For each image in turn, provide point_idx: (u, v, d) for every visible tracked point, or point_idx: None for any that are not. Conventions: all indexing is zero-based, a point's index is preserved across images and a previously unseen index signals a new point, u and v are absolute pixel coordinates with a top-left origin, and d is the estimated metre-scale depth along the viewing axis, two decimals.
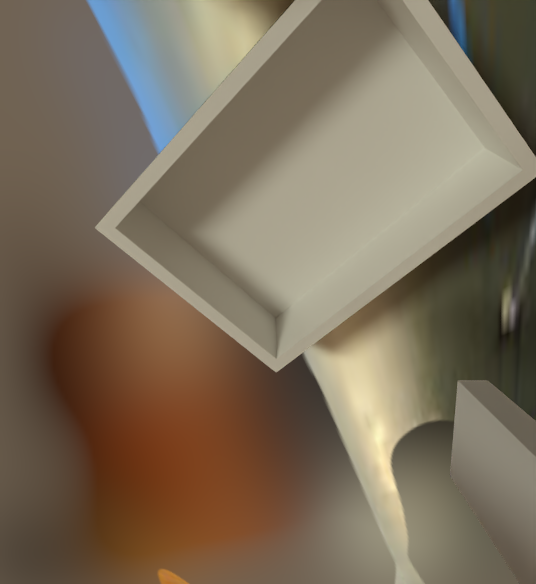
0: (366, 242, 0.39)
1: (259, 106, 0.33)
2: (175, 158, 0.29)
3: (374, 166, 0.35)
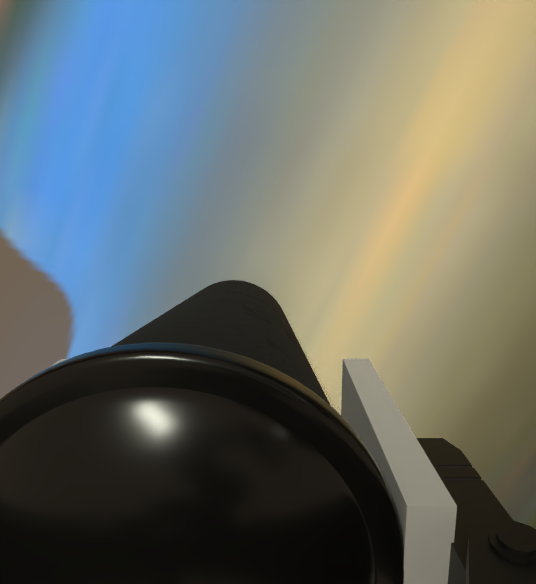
0: None
1: None
2: None
3: None
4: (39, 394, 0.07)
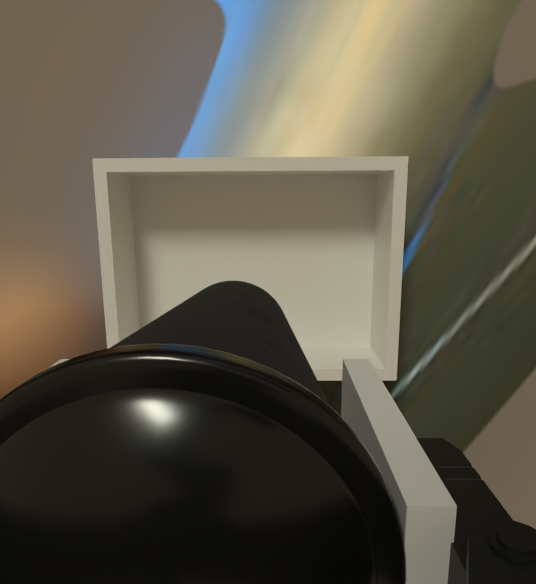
0: None
1: (264, 197, 0.41)
2: (193, 169, 0.35)
3: (299, 298, 0.43)
4: (37, 396, 0.07)
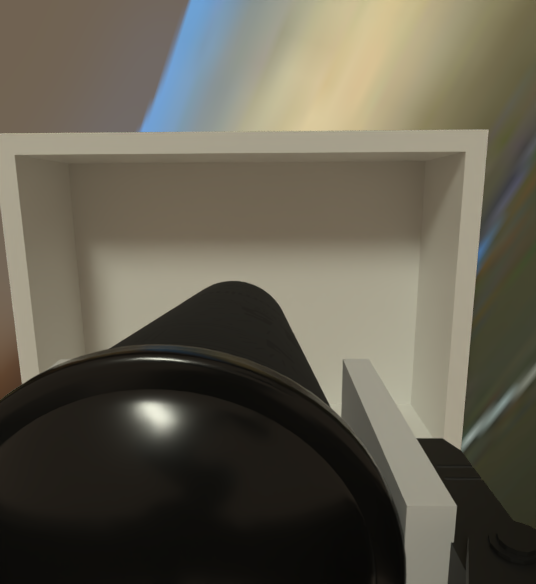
0: None
1: (261, 195, 0.29)
2: (149, 151, 0.22)
3: (311, 337, 0.30)
4: (37, 397, 0.07)
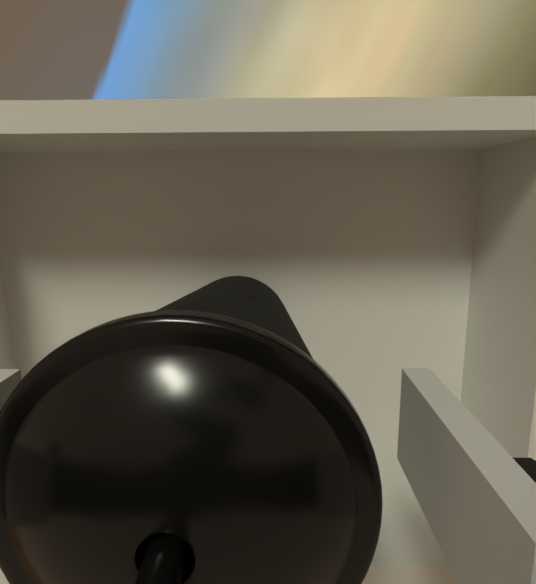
0: None
1: (255, 196, 0.21)
2: (81, 129, 0.15)
3: None
4: (78, 351, 0.08)
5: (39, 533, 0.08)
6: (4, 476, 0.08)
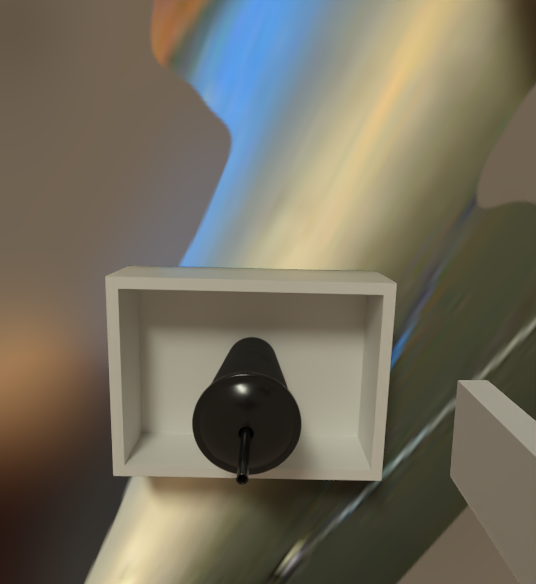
0: None
1: (262, 300, 0.44)
2: (198, 289, 0.38)
3: (292, 391, 0.46)
4: (223, 382, 0.31)
5: (212, 428, 0.31)
6: (200, 414, 0.32)
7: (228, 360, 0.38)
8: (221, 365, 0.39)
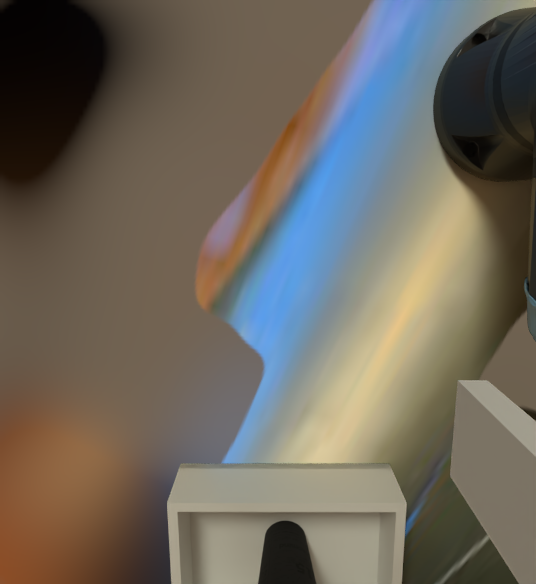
0: None
1: None
2: (243, 511, 0.46)
3: (320, 562, 0.54)
4: None
5: None
6: None
7: (269, 568, 0.46)
8: (262, 566, 0.47)
